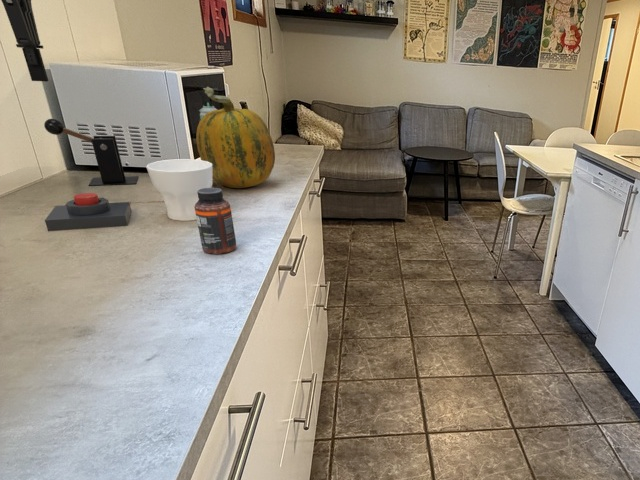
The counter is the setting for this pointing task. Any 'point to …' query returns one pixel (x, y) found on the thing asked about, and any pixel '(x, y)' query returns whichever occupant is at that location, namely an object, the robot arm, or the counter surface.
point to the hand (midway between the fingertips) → (40, 80)
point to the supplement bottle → (214, 221)
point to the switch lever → (63, 130)
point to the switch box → (88, 215)
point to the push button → (86, 199)
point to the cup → (180, 184)
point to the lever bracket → (109, 163)
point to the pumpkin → (235, 144)
